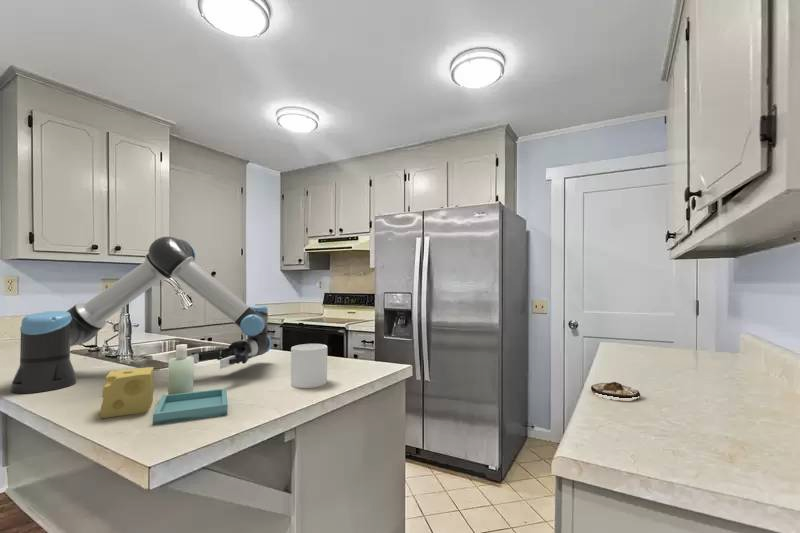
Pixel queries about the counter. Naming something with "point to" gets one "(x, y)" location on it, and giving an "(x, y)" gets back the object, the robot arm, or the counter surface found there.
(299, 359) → the cup
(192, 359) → the bottle
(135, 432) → the counter surface
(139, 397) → the cheese
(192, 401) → the teal rectangular tray
